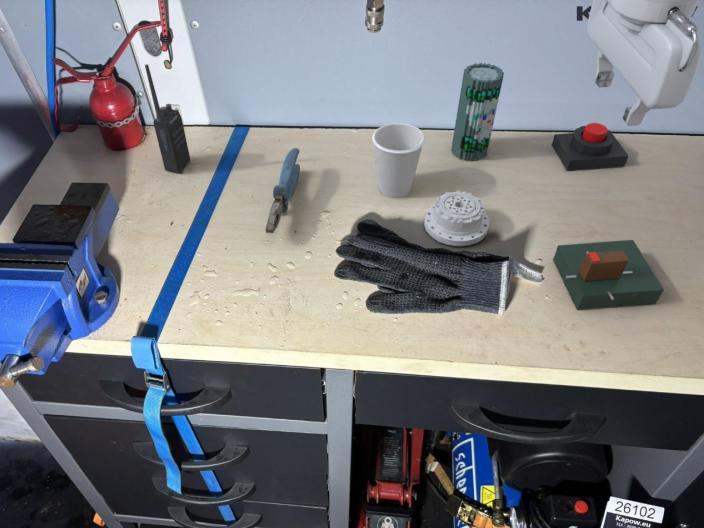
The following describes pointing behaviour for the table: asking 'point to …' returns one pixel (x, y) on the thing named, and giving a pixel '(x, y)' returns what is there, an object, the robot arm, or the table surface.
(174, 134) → the walkie-talkie
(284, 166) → the pliers
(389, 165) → the dixie cup
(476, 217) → the mechanical component
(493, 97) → the can
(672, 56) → the robot arm
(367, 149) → the table surface
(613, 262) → the handle
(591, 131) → the button
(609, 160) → the switch block
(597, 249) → the panel
